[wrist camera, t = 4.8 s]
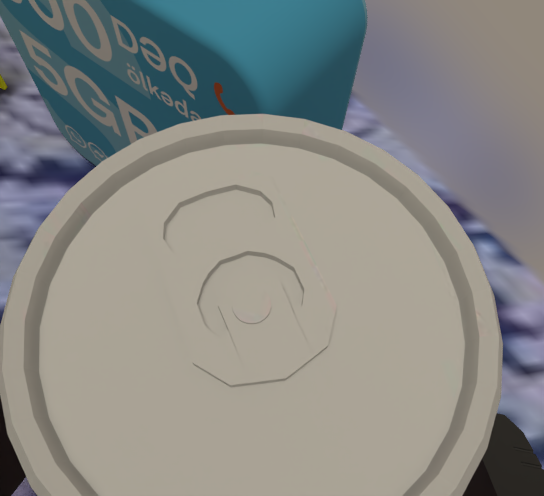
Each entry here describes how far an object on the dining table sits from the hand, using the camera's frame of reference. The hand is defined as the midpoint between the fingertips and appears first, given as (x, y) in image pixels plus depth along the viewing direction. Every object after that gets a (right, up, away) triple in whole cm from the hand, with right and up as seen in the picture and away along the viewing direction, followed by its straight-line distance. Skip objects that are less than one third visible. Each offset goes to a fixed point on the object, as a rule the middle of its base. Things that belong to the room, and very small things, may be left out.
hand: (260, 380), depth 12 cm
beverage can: (0, -4, +7) cm, 8 cm away
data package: (-4, +6, +12) cm, 14 cm away
